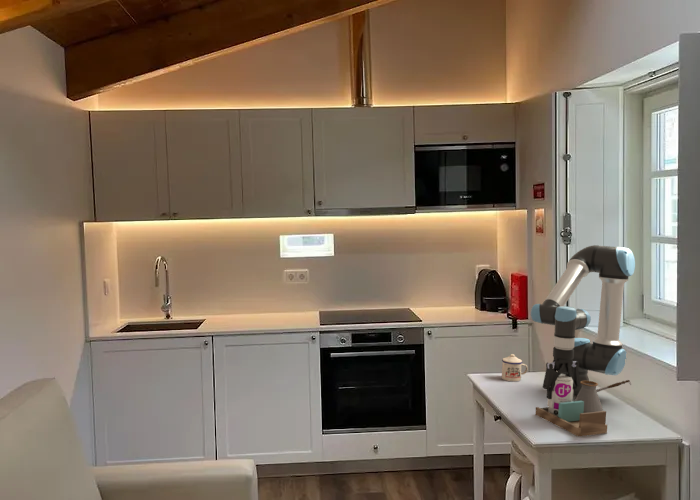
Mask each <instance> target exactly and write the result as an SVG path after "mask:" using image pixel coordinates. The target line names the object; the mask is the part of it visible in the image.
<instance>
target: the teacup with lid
mask: <svg viewBox="0 0 700 500" xmlns="http://www.w3.org/2000/svg"><path fill="white" fill-rule="evenodd" d="M501 361H502V362H501V363H502V367H501V379H502V380H504V381H506V382H519V381H521V379H522V375H525V374H526V373H528V370H529V368H528V365H527V364H526V363H523V360H522V359H520V358H518V357H517V356H516V355H515V354H514V353H511V354H510V355H508V356H506V357H503V358H502V360H501ZM522 366H524V367H525V370H524V371H523V372H522Z"/></svg>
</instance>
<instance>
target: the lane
mask: <svg viewBox="0 0 700 500" xmlns="http://www.w3.org/2000/svg"><path fill="white" fill-rule="evenodd" d="M548 410H549V407H548V406H547V407H540V406H536V407H535V413H534V414H535V416H537V417H539V418H540V419H543V420H545V421H547V422H549V424H550V423H551V424H552V425H554V426H557V427H558V428H561V429H562V430H564V431H566V432H568V433H570V434H572V435H574V436H576V437H586V436H587V435H588V436H595V435H601V434H602V435H603V434H607V433H608V424H606V421H607V411H606V410H603V411H598V412H589V413H580V419H579V421H570V422H567V421H565V420H563V419H561V418H559V417H557V416H555V415H553V414H551V413H549V412H548Z"/></svg>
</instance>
